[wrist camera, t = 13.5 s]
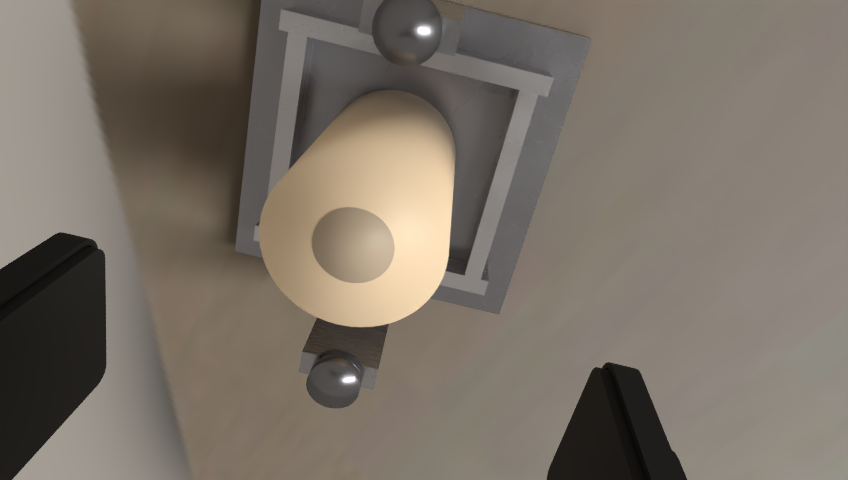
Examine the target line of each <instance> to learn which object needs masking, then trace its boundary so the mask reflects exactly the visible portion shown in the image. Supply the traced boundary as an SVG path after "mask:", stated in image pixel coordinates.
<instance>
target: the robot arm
mask: <svg viewBox="0 0 848 480" xmlns="http://www.w3.org/2000/svg"><path fill="white" fill-rule="evenodd" d="M105 369H106V296H105V254H104V252H103V251H102V250H100V249H98V248H97V244H96V243H95V241H94V240H92V239H88V238H84V237H80V236H75V235H71V234H66V233H57V234H55V235H53V236H52V237H50V238H49V239H47V240H46V241H44V242H42V243H41V244H40V245H38V246H36V247H35V248H33V249H31V250H30V251H28V252H27V253H25V254H24V255H22V256H20V257H19V258H17V259H16V260H14V261H13V262H11V263H9V264H8V265H6V266H5V267H3V268H2V269H0V480H12V479H13V478H14V477H15V476H16V475H17V474H18V472H19V471H20V470H21V469H22V468H23V467H24V466H25V464H27V462H28V461H29V460H30V459H31V458H32V457H33V456H34V454H36V452H37V451H38V450H39V449H40V448H41V447H42V446H43V445H44V444H45V443H46V441H47V440H48V439H49V438H50V437H51V436H52V435H53V434H54V433H55V431H56V430H57V429H58V428H59V427H60V426H61V425H62V424H63V423H64V421H65V420H66V419H67V418H68V417H69V416H70V415H71V414H72V413H73V411H74V410H75V409H76V408H77V407H78V406H79V405H80V404H81V403H82V402H83V400H85V398H86V397H87V396H88V395H89V394H90V393H91V392H92V391H93V390H94V388H95V387H96V386H97V385H98V384H99V383H100V381H101V379H102V377H103V375H104V373H105ZM547 480H687V478H686V476H685V473H684V471H683V468H682V466H681V464H680V461H679V459H678V457H677V456H676V454H675V452H673V451H672V450H671V447H670V445H669V442H668V440H667V437H666V435H665V433H664V430H663V428H662V425H661V423H660V420H659V418H658V415H657V413H656V410H655V408H654V405H653V403H652V400H651V398H650V395H649V393H648V390H647V388H646V385H645V383H644V380H643V378H642V376H641V373H640V372H639V370H637V369H635V368H631V367H626V366H622V365H618V364H614V363H610V362H608V363H606V364H605V365H604V366H603V367H602V368H597V367H596V368H594V369H593V370H592V372H591V374H590V376H589V378H588V381H587V383H586V385H585V388H584V390H583V392H582V394H581V397H580V399H579V401H578V404H577V406H576V408H575V410H574V413H573V415H572V417H571V420H570V422H569V424H568V427H567V429H566V431H565V433H564V436H563V438H562V440H561V443H560V445H559V447H558V449H557V452H556V454H555V456H554V459H553V461H552V463H551V465H550V468H549V471H548V475H547Z"/></svg>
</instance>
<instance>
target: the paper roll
mask: <svg viewBox="0 0 848 480" xmlns="http://www.w3.org/2000/svg"><path fill="white" fill-rule="evenodd" d="M455 160H456V150H455V143H454V138H453V135H452V133H451V130H450V128H449V126H448V124H447V122H446V121H445V119H444V118H443V116H442V115H441V114H440V113H439V112H438V111H437V109H436V108H434V107H433V106H432V105H431V104H430V103H428V102H427V101H425V100H424V99H422V98H420V97H418V96H416V95H414V94H411V93H408V92H404V91H399V90H379V91H375V92H370V93H368V94H365V95H362V96H361V97H359V98H357V99H355V100H354V101H352V102H351V103H350V104H348V105H347V106H346V107H345V108H344V109H343V110H342V111H341V113H340V114H339V115H338V116H337V117H336V118H335V119H334V120H333V121H332V123H331V124H330V125H329V126H328V127H327V128H326V129H325V130H324V132H323V133H322V134H321V135H320V136H319V137H318V138H317V139H316V140H315V142H314V143H313V144H312V145H311V146H310V147H309V148H308V149H307V150H306V152H305V153H304V154H303V155H302V156H301V157H300V158H299V159H298V160H297V162H296V163H295V164H294V165H293V166H292V167H291V168H290V169H289V171H288V172H287V173H286V174H285V175H284V176H283V177H282V178H281V179H280V181H279V182H278V183H277V184H276V185H275V187H274V188H273V190H272V191H271V192H270V194H269V196H268V198H267V200H266V202H265V204H264V207H263V210H262V213H261V218H260V223H259V242H260V249H261V253H262V257H263V260H264V262H265V265H266V268H267V270H268V272H269V273H270V275H271V277H272V279H273V280H274V282H275V283H276V284H277V286H278V287H279V289H280V290H281V291H282V292H283V293H284V294H285V295H286V296H287V297H288V298H289V299H290V300H291V301H292V302H294V303H295V304H296V305H297V306H299V307H300V308H302V309H303V310H304V311H306V312H308V313H310V314H312V315H313V316H315V317H317V318H320V319H322V320H325V321H327V322H331V323H334V324H338V325H343V326H349V327H374V326H380V325H385V324H389V323H392V322H395V321H398V320H400V319H402V318H405V317H406V316H408V315H410V314H411V313H413V312H415V311H416V310H417V309H419V308H420V307H421V306H423V305H424V304H425V303H426V302H427V301H428V300H429V299H430V297H431V296H432V295H433V294H434V292H435V291H436V289H437V288H438V286H439V284H440V282H441V281H442V279H443V276H444V273H445V270H446V268H447V262H448V257H449V244H450V230H451V216H452V202H453V188H454V174H455Z"/></svg>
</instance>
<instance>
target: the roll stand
mask: <svg viewBox="0 0 848 480" xmlns="http://www.w3.org/2000/svg"><path fill="white" fill-rule="evenodd" d="M591 40H592V39H590V38H588V37H586V36H582V35H578V34H574V33H570V32H566V31H562V30H558V29H554V28H550V27H546V26H542V25H539V24H535V23H531V22H527V21H523V20H519V19H515V18H511V17H507V16H503V15H499V14H495V13H491V12H487V11H484V10H480V9H476V8H472V7H468V6H464V5H460V4H456V3H452V2H448V1H444V0H261V8H260V17H259V27H258V36H257V46H256V55H255V65H254V74H253V84H252V93H251V103H250V112H249V122H248V131H247V141H246V150H245V160H244V169H243V179H242V188H241V198H240V207H239V216H238V226H237V235H236V245H235V252H239V253H243V254H248V255H252V256H256V257H260V258H263V257H262V253H261V249H260V242H259V223H260V218H261V213H262V210H263V207H264V204H265V202H266V200H267V198H268V196H269V194H270V192H271V191H272V190H273V188H274V187H275V185H276V184H277V183H278V182H279V181H280V179H281V178H282V177H283V176H284V175H285V174H286V173H287V172H288V171H289V169H290V168H291V167H292V166H293V165H294V164H295V163H296V162H297V160H298V159H299V158H300V157H301V156H302V155H303V154H304V153H305V152H306V150H307V149H308V148H309V147H310V146H311V145H312V144H313V143H314V142H315V140H316V139H317V138H318V137H319V136H320V135H321V134H322V133H323V132H324V130H325V129H326V128H327V127H328V126H329V125H330V124H331V123H332V121H333V120H334V119H335V118H336V117H337V116H338V115H339V114H340V113H341V111H342V110H343V109H344V108H345V107H346V106H347V105H348V104H350V103H351V102H352V101H354V100H355V99H357V98H359V97H361V96H362V95H365V94H368V93H370V92H375V91H379V90H399V91H404V92H408V93H411V94H414V95H416V96H418V97H420V98H422V99H424V100H425V101H427V102H428V103H430V104H431V105H432V106H433V107H434V108H436V109H437V111H438V112H439V113H440V114H441V115H442V116H443V118H444V119H445V121H446V122H447V124H448V126H449V128H450V130H451V133H452V135H453V138H454V143H455V150H456V160H455V174H454V188H453V202H452V216H451V230H450V244H449V257H448V262H447V268H446V270H445V273H444V276H443V279H442V281H441V282H440V284H439V286H438V288H437V289H436V291H435V292H434V294H433V295H432V296H431V297H430V298H432V299H436V300H441V301H445V302H449V303H453V304H457V305H462V306H466V307H470V308H474V309H478V310H483V311H487V312H491V313H495V314H499V313H500V310H501V307H502V304H503V301H504V298H505V295H506V292H507V289H508V286H509V283H510V280H511V277H512V274H513V271H514V269H515V266H516V263H517V260H518V257H519V254H520V251H521V248H522V245H523V242H524V239H525V236H526V233H527V230H528V227H529V224H530V221H531V218H532V215H533V212H534V209H535V206H536V203H537V200H538V197H539V194H540V191H541V188H542V186H543V183H544V180H545V177H546V174H547V171H548V168H549V165H550V162H551V159H552V156H553V153H554V150H555V147H556V144H557V141H558V138H559V135H560V132H561V129H562V126H563V123H564V120H565V117H566V114H567V111H568V108H569V105H570V103H571V100H572V97H573V94H574V91H575V88H576V85H577V82H578V79H579V76H580V73H581V70H582V67H583V64H584V61H585V58H586V55H587V52H588V49H589V46H590V43H591ZM387 328H388V324H385V325H380V326H374V327H349V326H343V325H338V324H334V323H331V322H327V321H325V320H322V319H320V318H317V319H316V322H315V324H314V326H313V328H312V331H311V333H310V335H309V338H308V340H307V342H306V344H305V347H304V349H303V351H302V356H301V362H300V368H299V372H301V373H305V374H309V375H308V378H307V382H306V386H307V390H308V393H309V395H310V396H311V397H312V398H313V399H314V400H315V401H316V402H317V403H319V404H321V405H323V406H325V407H329V408H343V407H346V406H348V405H350V404H352V403H353V402H354V401H355V400H356V398H357V397H358V394H359V390H360V386H361V387H365V388H369V389H373V388H374V384H375V380H376V376H377V372H378V367H379V363H380V359H381V354H382V350H383V346H384V341H385V337H386V333H387Z"/></svg>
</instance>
